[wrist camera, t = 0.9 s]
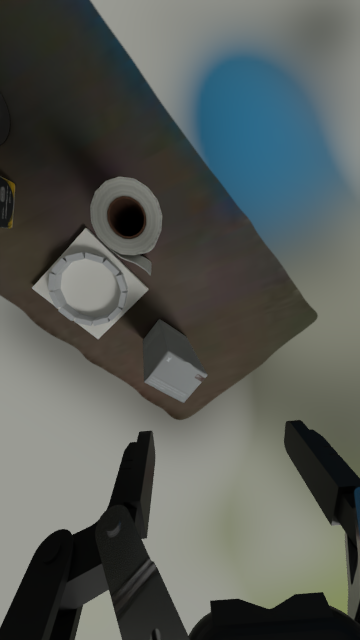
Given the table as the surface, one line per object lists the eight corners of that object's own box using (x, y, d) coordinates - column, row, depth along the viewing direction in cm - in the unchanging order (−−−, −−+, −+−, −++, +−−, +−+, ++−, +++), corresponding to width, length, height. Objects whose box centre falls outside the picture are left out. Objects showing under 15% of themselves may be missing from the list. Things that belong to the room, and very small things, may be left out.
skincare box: (142, 339, 43) (137, 384, 28) (161, 314, 42) (166, 349, 27) (171, 357, 46) (181, 408, 31) (190, 335, 44) (209, 377, 30)
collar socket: (36, 286, 37) (23, 290, 33) (88, 229, 34) (80, 226, 31) (100, 336, 42) (94, 344, 38) (148, 288, 39) (148, 292, 36)
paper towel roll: (128, 214, 35) (94, 162, 15) (160, 224, 36) (170, 191, 16) (120, 254, 37) (82, 257, 17) (151, 263, 38) (150, 276, 18)
